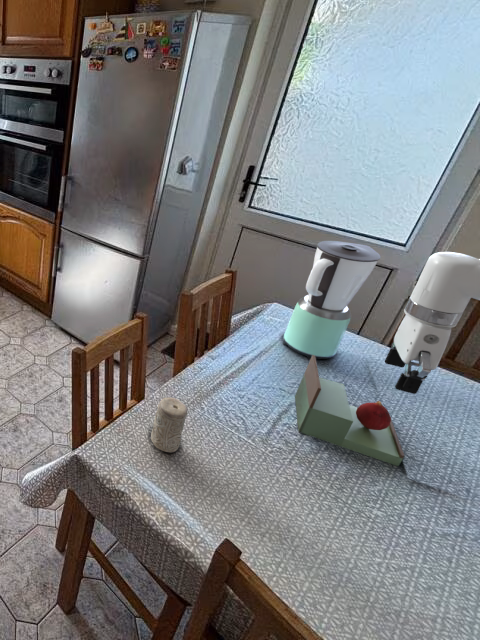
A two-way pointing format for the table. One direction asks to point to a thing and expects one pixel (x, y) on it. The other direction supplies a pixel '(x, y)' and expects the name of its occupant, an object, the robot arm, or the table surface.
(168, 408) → the carving
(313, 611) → the table surface
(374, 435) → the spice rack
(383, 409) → the onion
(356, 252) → the juicer
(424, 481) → the table surface
